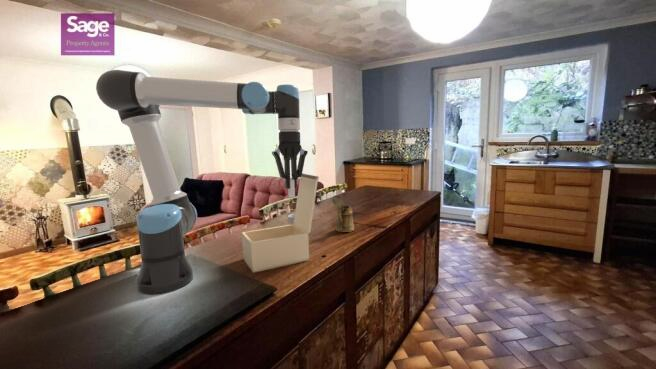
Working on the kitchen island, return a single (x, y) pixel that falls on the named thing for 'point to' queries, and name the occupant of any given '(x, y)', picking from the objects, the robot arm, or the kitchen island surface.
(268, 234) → the carton
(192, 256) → the kitchen island surface
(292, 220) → the teacup
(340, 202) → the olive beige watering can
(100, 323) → the kitchen island surface
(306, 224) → the lid
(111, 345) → the kitchen island surface
